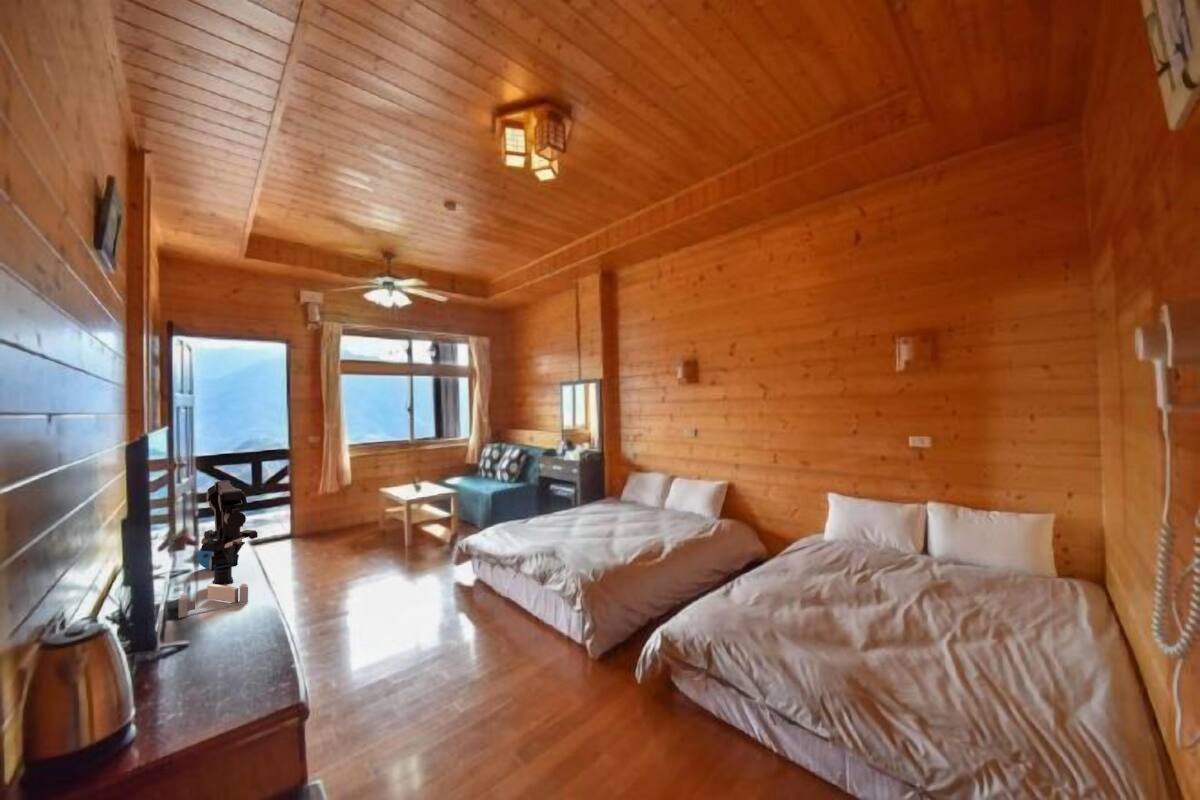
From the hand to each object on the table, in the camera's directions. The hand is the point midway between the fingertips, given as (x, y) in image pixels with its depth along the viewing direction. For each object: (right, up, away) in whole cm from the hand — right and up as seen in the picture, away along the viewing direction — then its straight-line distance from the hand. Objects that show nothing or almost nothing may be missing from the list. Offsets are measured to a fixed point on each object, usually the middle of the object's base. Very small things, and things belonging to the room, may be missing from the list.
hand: (230, 562), depth 182 cm
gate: (+3, -12, -7) cm, 14 cm away
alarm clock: (-27, -12, +27) cm, 40 cm away
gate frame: (+4, -13, -13) cm, 18 cm away
